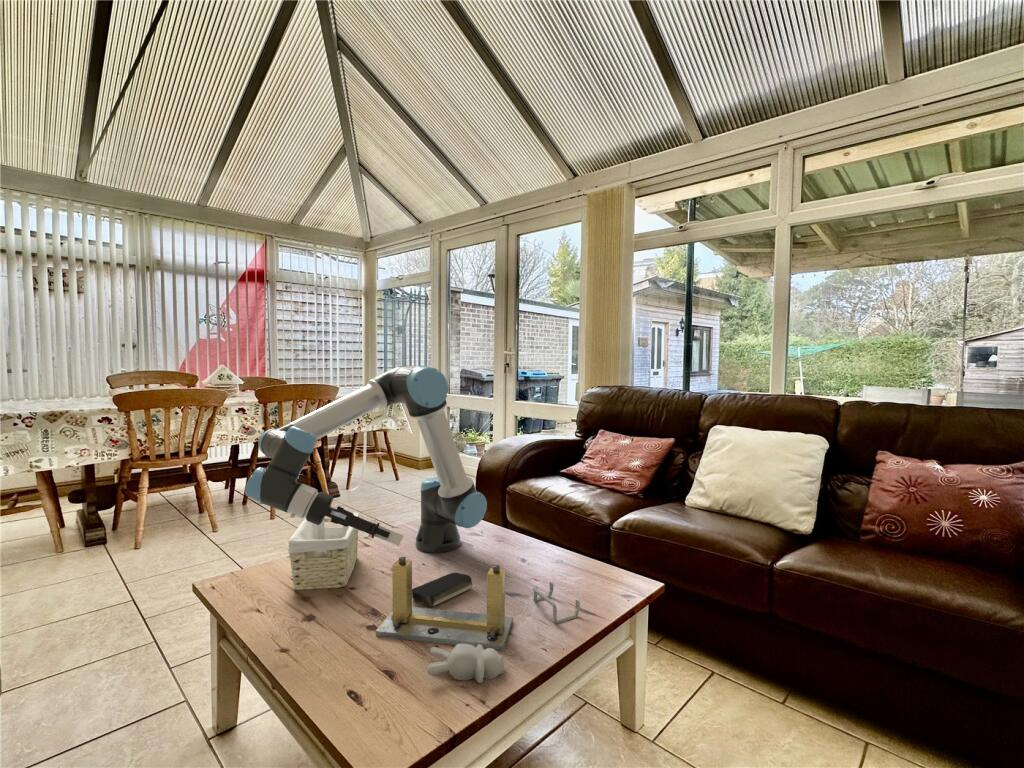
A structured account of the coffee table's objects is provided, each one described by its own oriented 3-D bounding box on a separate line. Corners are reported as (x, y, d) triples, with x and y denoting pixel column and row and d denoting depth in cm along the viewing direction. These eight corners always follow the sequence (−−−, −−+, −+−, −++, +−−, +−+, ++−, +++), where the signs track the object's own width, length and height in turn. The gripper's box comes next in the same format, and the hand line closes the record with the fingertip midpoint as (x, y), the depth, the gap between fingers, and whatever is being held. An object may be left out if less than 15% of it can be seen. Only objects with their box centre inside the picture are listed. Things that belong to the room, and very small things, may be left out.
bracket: (579, 619, 122) (581, 599, 122) (553, 625, 118) (555, 605, 118) (550, 597, 133) (551, 578, 133) (525, 602, 129) (527, 583, 129)
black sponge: (429, 612, 124) (429, 598, 124) (408, 601, 130) (408, 587, 130) (475, 590, 136) (475, 577, 136) (455, 580, 142) (455, 568, 142)
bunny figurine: (506, 667, 96) (428, 662, 94) (502, 692, 96) (425, 688, 94) (502, 639, 105) (431, 634, 104) (499, 662, 105) (428, 658, 104)
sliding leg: (398, 613, 120) (398, 554, 120) (412, 614, 120) (412, 555, 119) (388, 626, 114) (388, 564, 114) (402, 627, 114) (402, 565, 113)
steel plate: (396, 609, 125) (396, 604, 125) (512, 622, 119) (512, 617, 119) (375, 635, 113) (375, 630, 113) (503, 651, 108) (503, 645, 108)
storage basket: (348, 590, 135) (348, 537, 134) (286, 594, 133) (285, 540, 132) (361, 555, 159) (360, 510, 158) (308, 558, 156) (308, 512, 155)
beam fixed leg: (395, 613, 120) (395, 554, 120) (504, 625, 116) (505, 563, 115) (385, 627, 114) (385, 564, 114) (499, 640, 110) (500, 574, 109)
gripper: (306, 520, 125) (392, 554, 128) (301, 518, 113) (396, 556, 117) (321, 493, 128) (405, 527, 131) (317, 487, 116) (409, 525, 119)
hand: (400, 540), depth 124 cm, fingers closed
